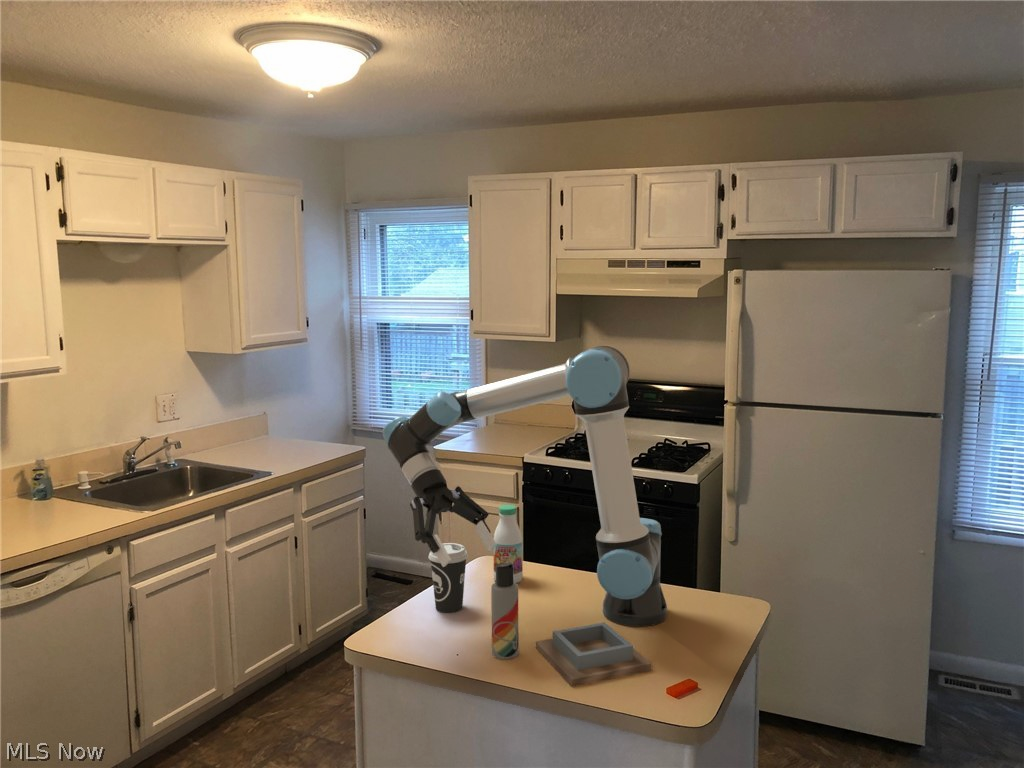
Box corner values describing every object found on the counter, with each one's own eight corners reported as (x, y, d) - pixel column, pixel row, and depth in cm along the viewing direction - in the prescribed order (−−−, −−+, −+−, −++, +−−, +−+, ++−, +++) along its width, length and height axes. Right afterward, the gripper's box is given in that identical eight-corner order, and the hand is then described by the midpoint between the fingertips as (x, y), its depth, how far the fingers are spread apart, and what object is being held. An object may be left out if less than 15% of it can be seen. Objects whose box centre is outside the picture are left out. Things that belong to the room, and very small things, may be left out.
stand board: (609, 634, 180) (609, 628, 179) (651, 670, 163) (651, 663, 163) (535, 648, 173) (535, 641, 173) (571, 686, 156) (571, 679, 156)
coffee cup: (463, 617, 189) (462, 556, 188) (424, 614, 191) (423, 553, 190) (473, 601, 199) (472, 543, 197) (436, 598, 201) (434, 540, 199)
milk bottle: (492, 575, 217) (492, 503, 214) (521, 574, 217) (520, 502, 215) (494, 585, 209) (493, 511, 207) (524, 584, 210) (523, 510, 207)
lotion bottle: (509, 662, 167) (508, 569, 164) (486, 655, 170) (485, 564, 167) (523, 651, 171) (523, 561, 169) (501, 645, 174) (500, 556, 172)
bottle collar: (604, 635, 176) (604, 622, 175) (632, 659, 164) (632, 645, 164) (552, 644, 171) (552, 631, 171) (578, 670, 160) (578, 656, 159)
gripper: (457, 477, 195) (502, 550, 186) (373, 497, 177) (418, 579, 168) (472, 458, 190) (518, 533, 182) (387, 477, 173) (434, 561, 164)
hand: (470, 555), depth 175 cm, fingers open, 13 cm apart
